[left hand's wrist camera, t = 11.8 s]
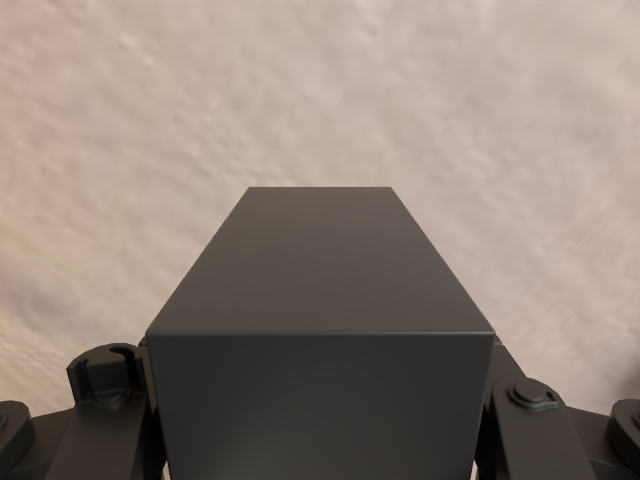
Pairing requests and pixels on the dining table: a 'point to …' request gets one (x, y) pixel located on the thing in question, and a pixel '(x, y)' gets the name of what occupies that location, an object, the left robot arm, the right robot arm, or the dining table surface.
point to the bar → (320, 346)
